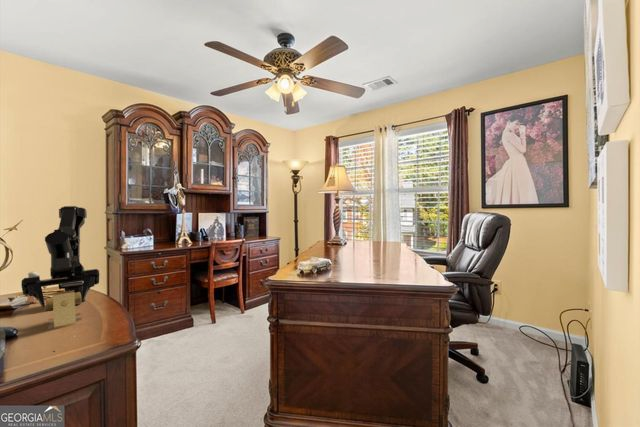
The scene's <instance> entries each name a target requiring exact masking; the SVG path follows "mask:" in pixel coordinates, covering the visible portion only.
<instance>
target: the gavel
mask: <svg viewBox="0 0 640 427" xmlns="http://www.w3.org/2000/svg"><path fill="white" fill-rule="evenodd" d="M74 295H75V306H76V305H82V302H81V293H80V292H76V293H74ZM45 308H46V311H52V310H53V296H50V297H46V298H45Z"/></svg>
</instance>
